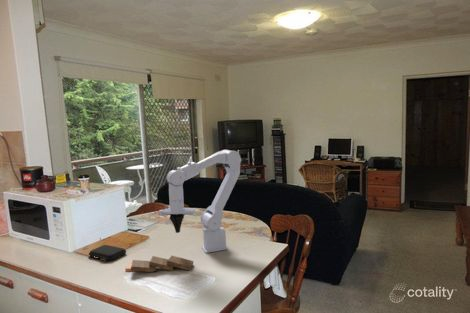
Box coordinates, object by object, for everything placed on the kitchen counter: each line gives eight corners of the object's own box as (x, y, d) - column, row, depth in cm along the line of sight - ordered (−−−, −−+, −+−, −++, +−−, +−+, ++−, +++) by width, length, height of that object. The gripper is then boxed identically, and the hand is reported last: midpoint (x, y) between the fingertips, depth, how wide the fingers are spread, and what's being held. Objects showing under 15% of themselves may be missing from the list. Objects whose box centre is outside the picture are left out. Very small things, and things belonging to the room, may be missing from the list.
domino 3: (193, 261, 126) (171, 255, 128) (190, 266, 122) (167, 260, 123) (192, 264, 127) (170, 259, 128) (189, 270, 122) (166, 264, 123)
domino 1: (156, 261, 127) (132, 259, 125) (156, 268, 122) (131, 266, 120) (156, 265, 127) (132, 263, 125) (155, 272, 122) (130, 270, 120)
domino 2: (175, 260, 127) (152, 255, 127) (173, 266, 122) (149, 261, 122) (174, 264, 127) (152, 259, 127) (172, 270, 123) (148, 265, 122)
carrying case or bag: (84, 258, 139) (108, 264, 132) (83, 252, 138) (107, 257, 131) (105, 249, 148) (128, 254, 141) (104, 243, 148) (128, 247, 141)
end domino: (152, 263, 128) (131, 262, 129) (147, 268, 123) (125, 268, 124) (153, 266, 128) (131, 266, 129) (148, 272, 123) (125, 272, 125)
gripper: (195, 197, 136) (197, 228, 138) (161, 197, 138) (163, 228, 139) (192, 201, 129) (193, 234, 131) (156, 201, 131) (158, 234, 132)
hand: (178, 231), depth 134 cm, fingers closed
